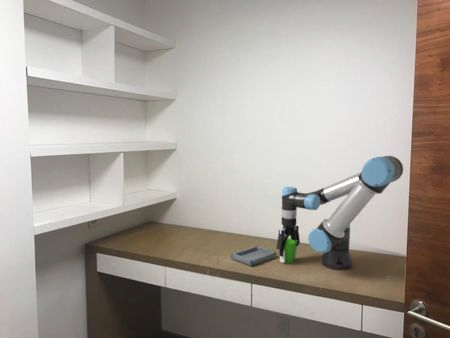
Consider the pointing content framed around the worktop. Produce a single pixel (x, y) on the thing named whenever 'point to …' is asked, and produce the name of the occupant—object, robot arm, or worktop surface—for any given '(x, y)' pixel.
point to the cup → (290, 250)
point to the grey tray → (253, 256)
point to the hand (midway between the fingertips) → (288, 259)
